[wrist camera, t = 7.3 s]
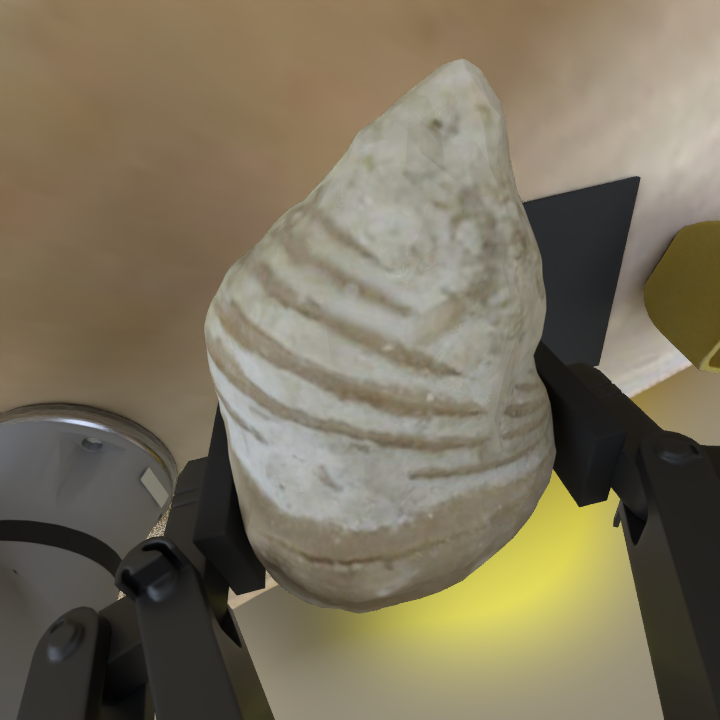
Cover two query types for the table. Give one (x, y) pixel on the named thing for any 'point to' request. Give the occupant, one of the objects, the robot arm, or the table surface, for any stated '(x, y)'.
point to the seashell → (390, 360)
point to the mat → (581, 263)
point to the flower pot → (689, 294)
